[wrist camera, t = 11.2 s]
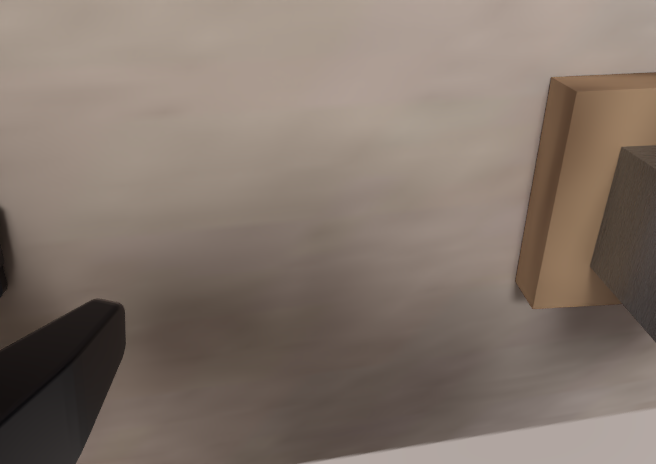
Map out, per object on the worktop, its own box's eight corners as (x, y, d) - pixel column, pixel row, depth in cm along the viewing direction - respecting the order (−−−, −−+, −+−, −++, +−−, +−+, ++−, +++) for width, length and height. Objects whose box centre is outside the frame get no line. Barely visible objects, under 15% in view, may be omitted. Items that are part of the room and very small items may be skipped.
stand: (515, 281, 23) (532, 309, 21) (551, 77, 19) (577, 91, 17) (712, 270, 23) (745, 297, 22) (795, 65, 19) (845, 78, 17)
